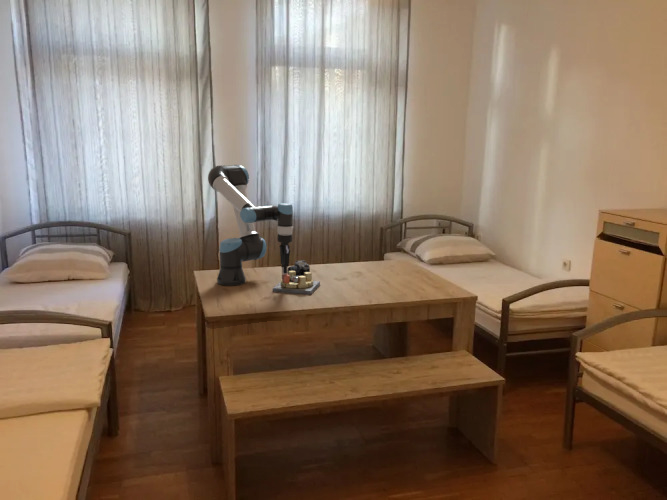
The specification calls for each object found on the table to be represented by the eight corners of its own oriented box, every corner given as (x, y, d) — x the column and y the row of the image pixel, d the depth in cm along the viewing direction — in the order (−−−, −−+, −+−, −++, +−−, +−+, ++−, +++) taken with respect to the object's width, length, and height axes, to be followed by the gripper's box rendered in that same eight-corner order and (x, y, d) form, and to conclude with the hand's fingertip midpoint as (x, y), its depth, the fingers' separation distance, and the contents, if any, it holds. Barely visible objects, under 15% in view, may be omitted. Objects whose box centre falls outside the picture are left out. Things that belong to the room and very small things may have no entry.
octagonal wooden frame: (306, 289, 290) (306, 278, 289) (276, 286, 295) (276, 276, 294) (316, 282, 306) (316, 271, 304) (288, 279, 310) (288, 269, 309)
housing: (272, 291, 293) (272, 280, 292) (283, 282, 312) (284, 271, 311) (310, 294, 289) (310, 283, 288) (319, 284, 308) (320, 274, 307)
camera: (283, 275, 327) (283, 258, 325) (300, 274, 332) (300, 257, 330) (294, 282, 313) (294, 264, 311) (311, 280, 318) (312, 262, 316)
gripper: (295, 236, 289) (294, 281, 294) (289, 231, 300) (288, 275, 305) (280, 236, 286) (280, 282, 291) (275, 231, 298) (274, 276, 303)
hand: (284, 278), depth 298 cm, fingers closed
